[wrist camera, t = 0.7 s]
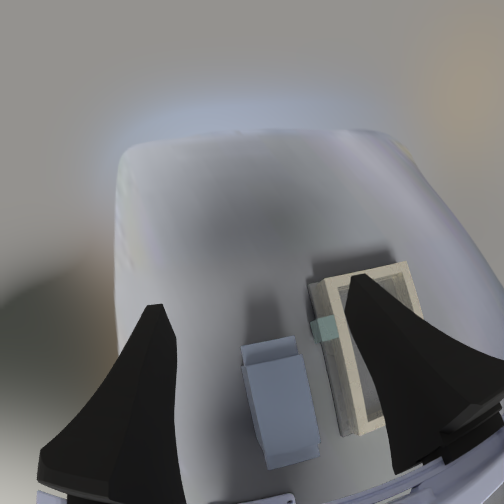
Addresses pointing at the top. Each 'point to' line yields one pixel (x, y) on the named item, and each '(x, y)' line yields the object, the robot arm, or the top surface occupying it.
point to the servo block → (280, 402)
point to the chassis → (354, 344)
